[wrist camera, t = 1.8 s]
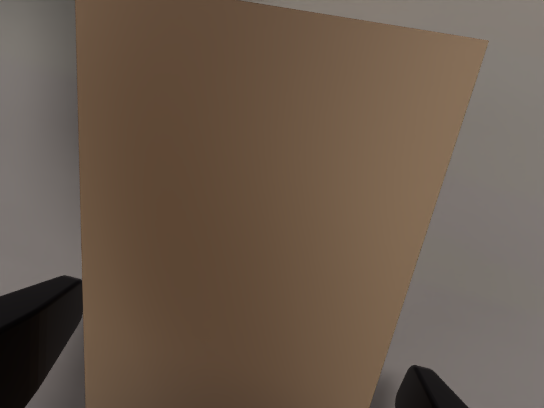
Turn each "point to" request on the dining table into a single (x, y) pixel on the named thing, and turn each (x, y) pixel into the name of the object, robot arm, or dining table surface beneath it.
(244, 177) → the block
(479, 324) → the dining table surface
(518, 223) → the dining table surface
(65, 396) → the dining table surface
